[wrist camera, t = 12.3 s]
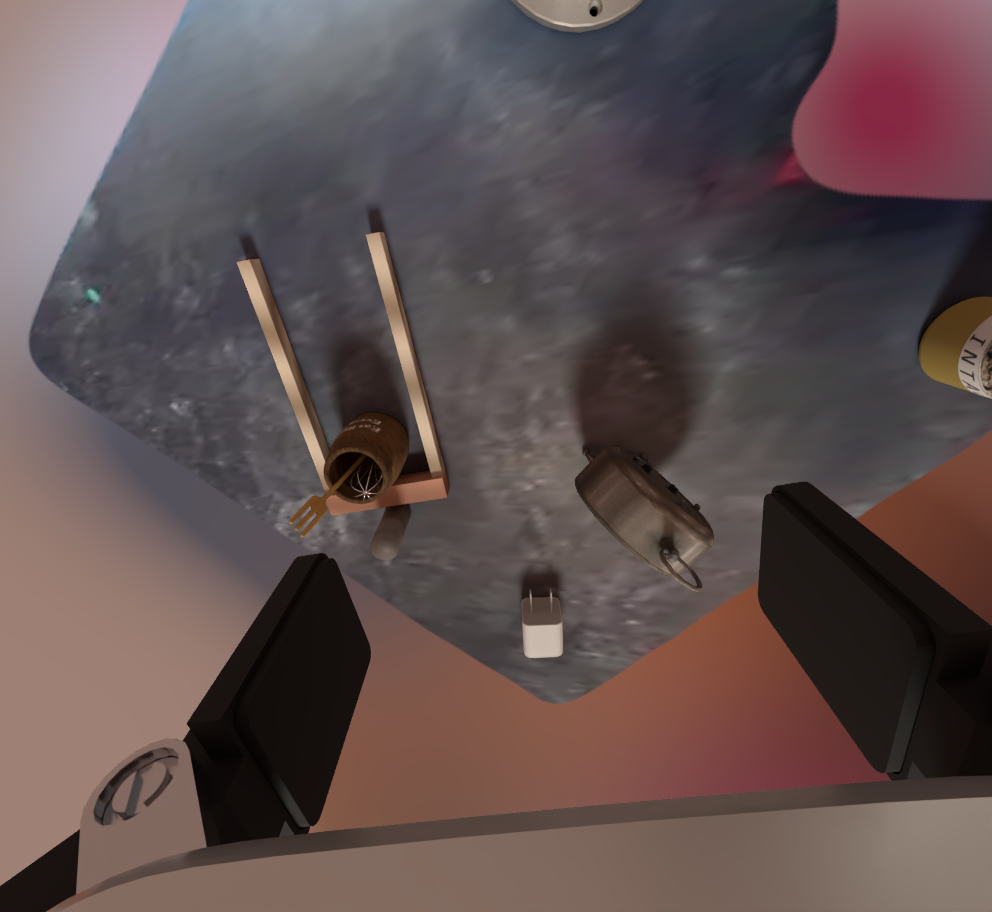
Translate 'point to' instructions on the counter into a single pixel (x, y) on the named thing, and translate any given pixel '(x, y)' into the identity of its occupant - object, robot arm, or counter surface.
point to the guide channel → (396, 495)
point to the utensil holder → (360, 464)
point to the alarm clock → (644, 512)
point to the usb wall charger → (542, 626)
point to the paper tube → (961, 346)
